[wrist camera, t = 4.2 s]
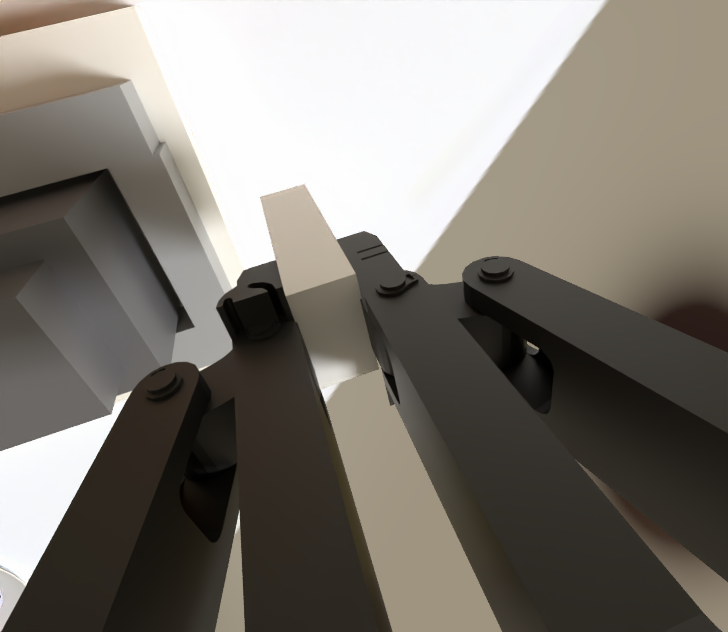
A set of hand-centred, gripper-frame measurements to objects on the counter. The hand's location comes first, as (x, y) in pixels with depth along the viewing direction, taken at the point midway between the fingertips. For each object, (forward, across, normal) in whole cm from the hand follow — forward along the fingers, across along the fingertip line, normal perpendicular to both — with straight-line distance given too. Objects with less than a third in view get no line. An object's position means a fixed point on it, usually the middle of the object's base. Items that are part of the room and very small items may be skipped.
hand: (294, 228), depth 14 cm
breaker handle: (+3, -8, 0) cm, 9 cm away
